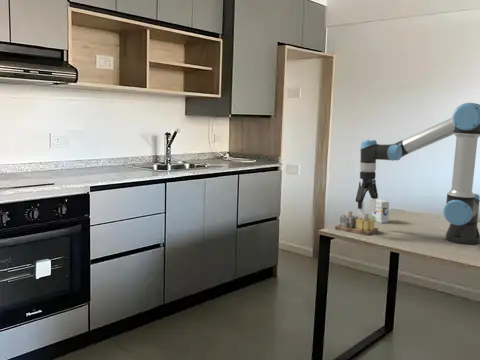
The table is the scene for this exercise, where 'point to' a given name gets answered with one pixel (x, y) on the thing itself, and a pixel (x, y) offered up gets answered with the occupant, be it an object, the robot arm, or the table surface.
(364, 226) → the brass gear
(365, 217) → the gear board
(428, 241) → the table surface
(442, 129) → the robot arm
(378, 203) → the ink box
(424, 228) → the table surface
